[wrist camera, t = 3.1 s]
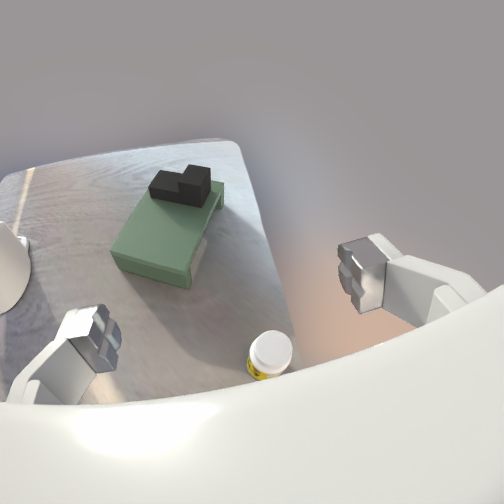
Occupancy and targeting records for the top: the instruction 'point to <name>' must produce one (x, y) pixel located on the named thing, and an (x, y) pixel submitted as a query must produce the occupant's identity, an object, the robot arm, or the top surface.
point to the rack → (164, 237)
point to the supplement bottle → (269, 355)
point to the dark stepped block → (182, 186)
